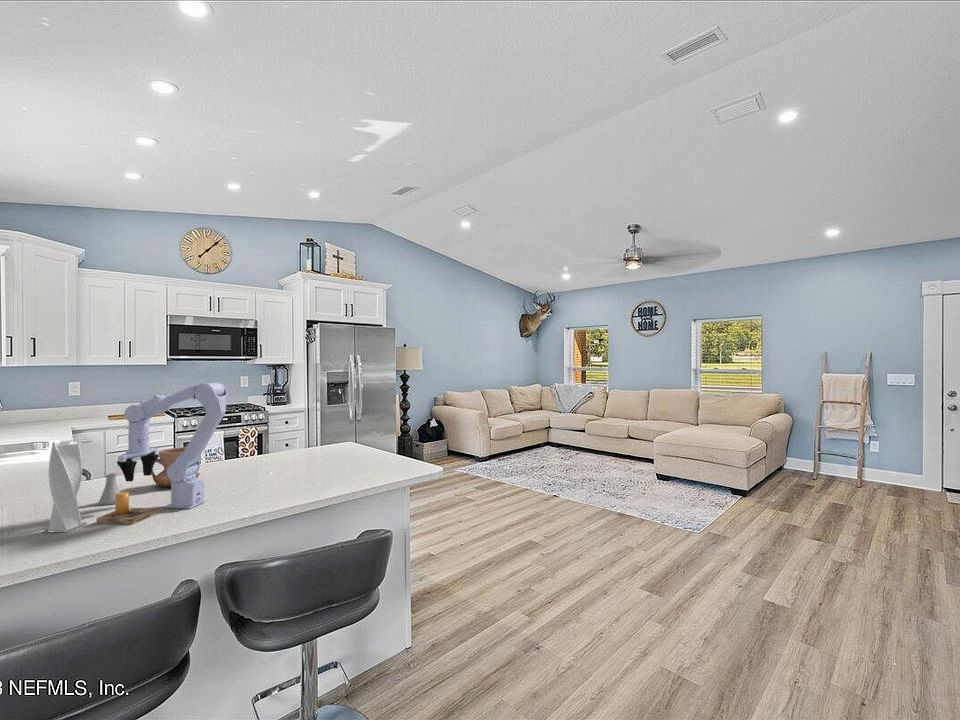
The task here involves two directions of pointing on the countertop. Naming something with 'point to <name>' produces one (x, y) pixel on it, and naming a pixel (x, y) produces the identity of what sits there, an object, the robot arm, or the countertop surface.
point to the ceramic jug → (167, 465)
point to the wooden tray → (132, 518)
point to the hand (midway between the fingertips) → (138, 478)
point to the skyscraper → (65, 485)
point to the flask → (109, 490)
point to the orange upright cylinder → (122, 504)
